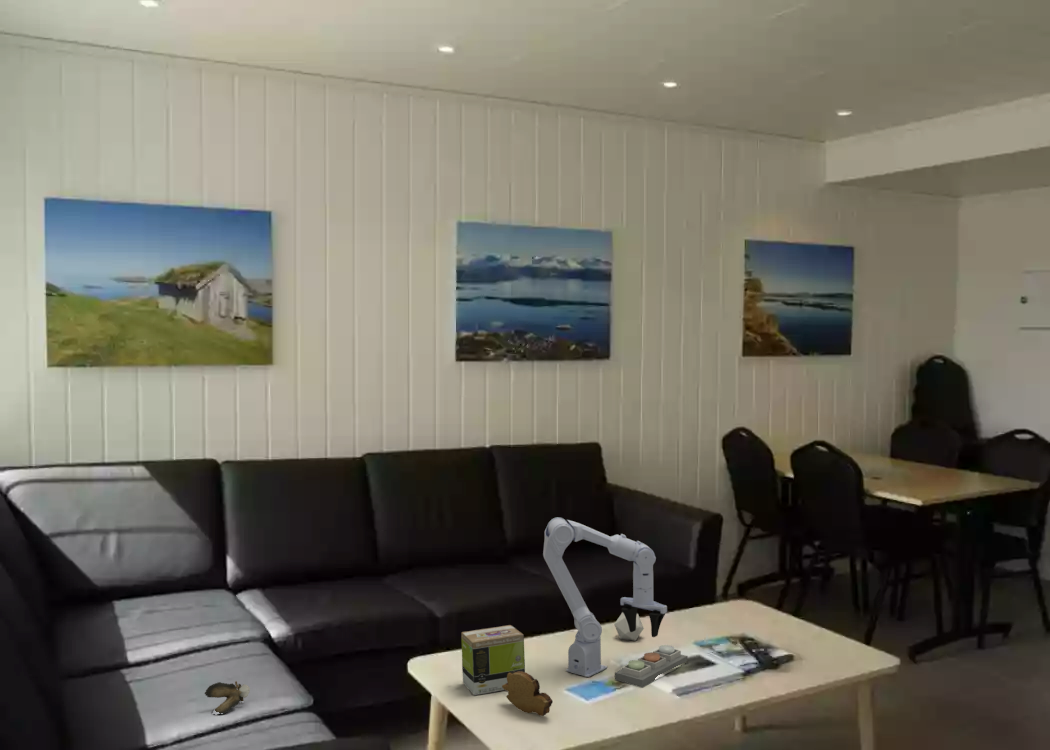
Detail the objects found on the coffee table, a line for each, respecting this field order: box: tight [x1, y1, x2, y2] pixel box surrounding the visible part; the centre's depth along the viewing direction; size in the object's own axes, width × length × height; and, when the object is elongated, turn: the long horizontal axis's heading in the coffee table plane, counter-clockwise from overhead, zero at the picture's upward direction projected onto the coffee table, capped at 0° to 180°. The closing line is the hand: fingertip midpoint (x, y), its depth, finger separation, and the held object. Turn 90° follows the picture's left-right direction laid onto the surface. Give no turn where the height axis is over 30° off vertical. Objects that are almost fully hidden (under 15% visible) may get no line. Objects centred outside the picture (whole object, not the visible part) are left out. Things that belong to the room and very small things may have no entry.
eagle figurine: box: [204, 680, 251, 714], centre depth 239 cm, size 8×8×10 cm
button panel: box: [614, 648, 688, 688], centre depth 262 cm, size 24×9×4 cm, turn 140°
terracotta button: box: [643, 651, 660, 663], centre depth 262 cm, size 4×4×2 cm
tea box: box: [460, 624, 526, 696], centre depth 252 cm, size 15×10×15 cm, turn 112°
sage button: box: [627, 659, 644, 671], centre depth 255 cm, size 4×4×2 cm
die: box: [614, 611, 645, 642], centre depth 290 cm, size 8×9×10 cm
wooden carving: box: [502, 671, 553, 717], centre depth 235 cm, size 16×5×10 cm, turn 48°
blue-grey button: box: [658, 644, 675, 655], centre depth 268 cm, size 4×4×2 cm
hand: (643, 633), depth 265 cm, fingers open, 7 cm apart
